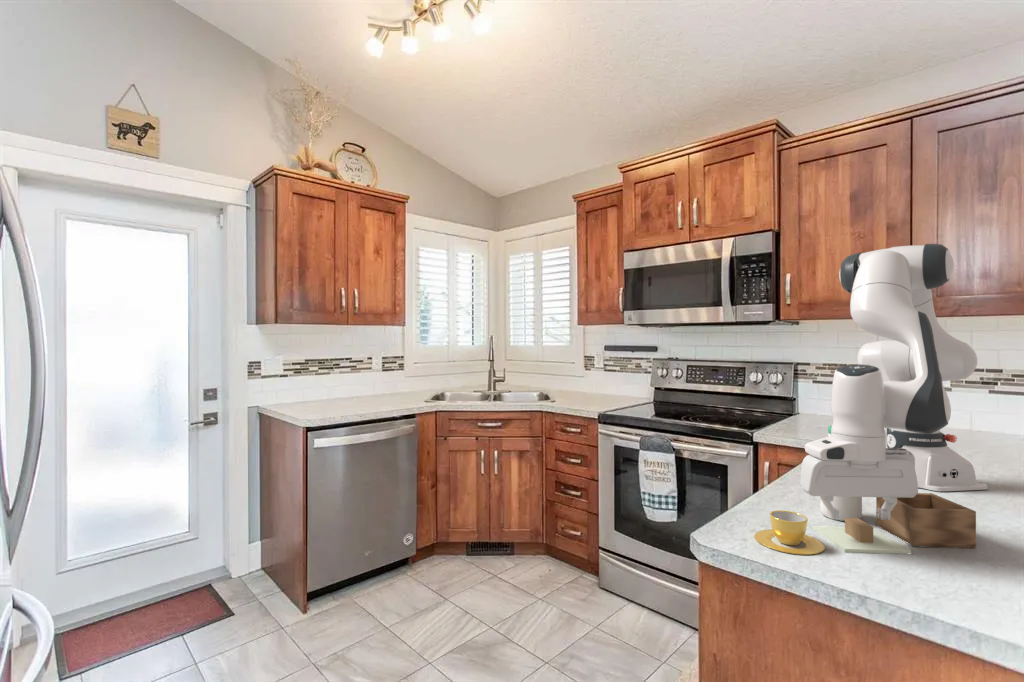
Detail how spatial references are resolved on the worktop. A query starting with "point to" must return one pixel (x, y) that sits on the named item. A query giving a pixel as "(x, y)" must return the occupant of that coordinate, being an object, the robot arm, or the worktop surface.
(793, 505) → the worktop surface
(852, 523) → the lid
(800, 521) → the cup
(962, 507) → the box
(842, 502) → the milk bottle
